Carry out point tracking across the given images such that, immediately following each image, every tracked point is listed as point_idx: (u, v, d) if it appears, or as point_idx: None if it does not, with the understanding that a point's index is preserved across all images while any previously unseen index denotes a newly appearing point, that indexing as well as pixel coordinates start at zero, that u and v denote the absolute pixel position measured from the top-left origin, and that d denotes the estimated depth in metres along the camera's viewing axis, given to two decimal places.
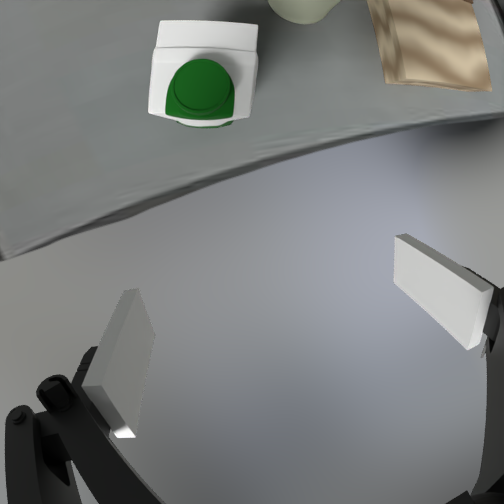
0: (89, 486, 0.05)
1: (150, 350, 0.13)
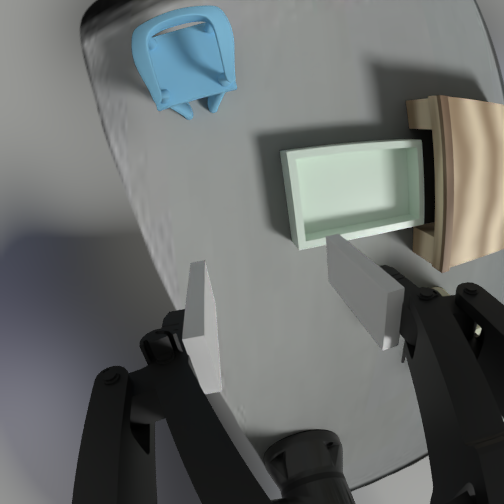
0: (175, 439, 0.06)
1: (216, 318, 0.15)
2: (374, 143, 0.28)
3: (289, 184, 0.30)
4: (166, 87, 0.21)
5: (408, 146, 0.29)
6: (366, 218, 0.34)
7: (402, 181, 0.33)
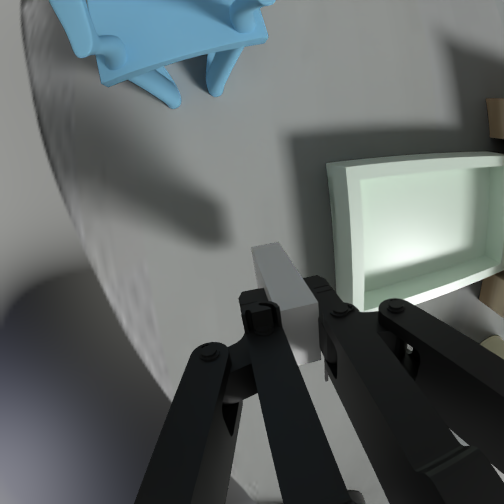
0: (263, 409, 0.07)
1: None
2: (465, 158, 0.16)
3: (345, 222, 0.17)
4: (121, 37, 0.09)
5: (500, 164, 0.17)
6: (438, 265, 0.21)
7: (482, 211, 0.20)
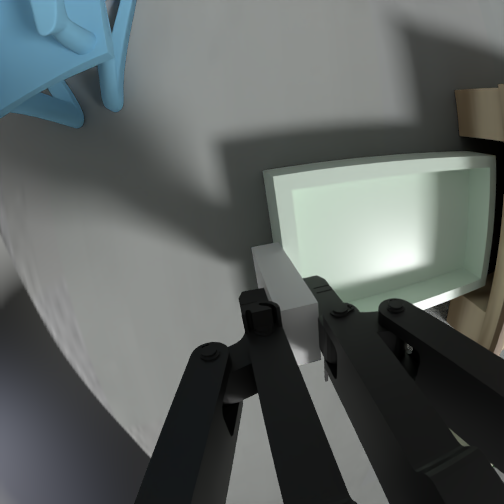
0: (263, 409, 0.07)
1: None
2: (433, 160, 0.15)
3: (279, 238, 0.16)
4: None
5: (479, 166, 0.15)
6: (404, 281, 0.20)
7: (460, 219, 0.19)
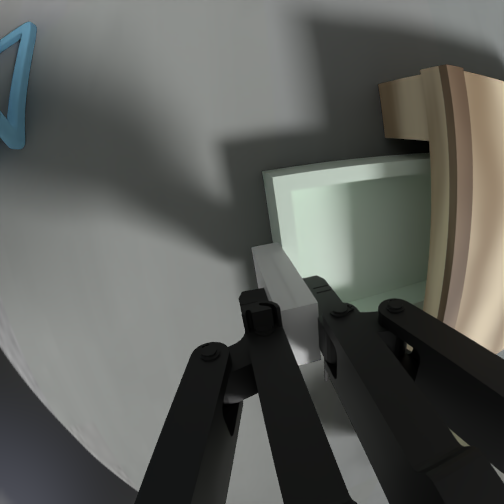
0: (263, 409, 0.07)
1: None
2: None
3: (278, 238, 0.16)
4: None
5: None
6: (404, 281, 0.20)
7: None
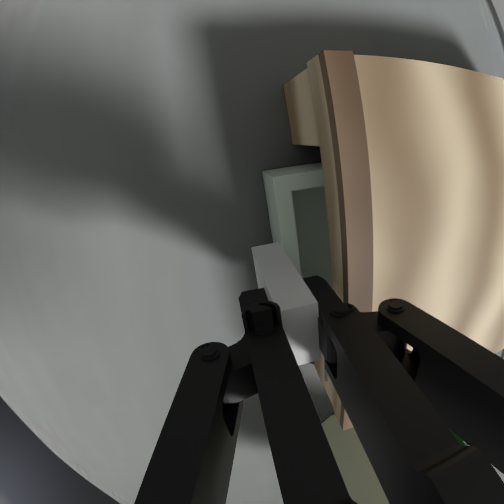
0: (263, 409, 0.07)
1: None
2: None
3: (279, 238, 0.16)
4: None
5: None
6: None
7: None
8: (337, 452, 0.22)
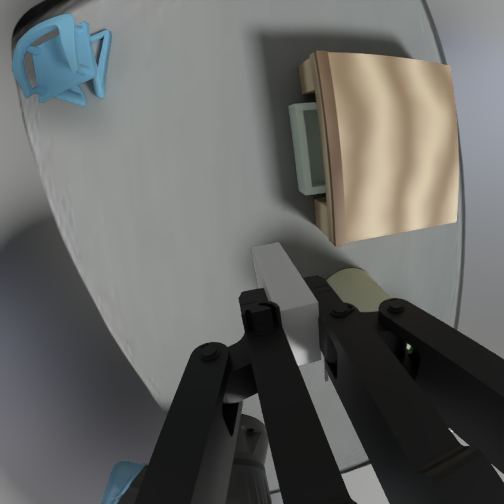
0: (263, 409, 0.07)
1: None
2: None
3: (297, 133, 0.31)
4: (45, 83, 0.21)
5: None
6: None
7: None
8: None
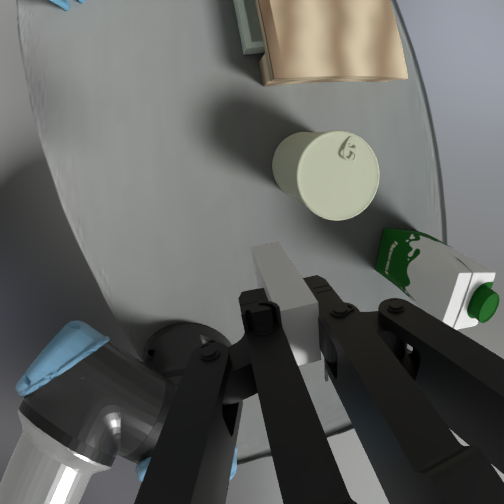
0: (263, 409, 0.07)
1: None
2: None
3: (237, 5, 0.29)
4: None
5: None
6: None
7: None
8: (287, 146, 0.34)
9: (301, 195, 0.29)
